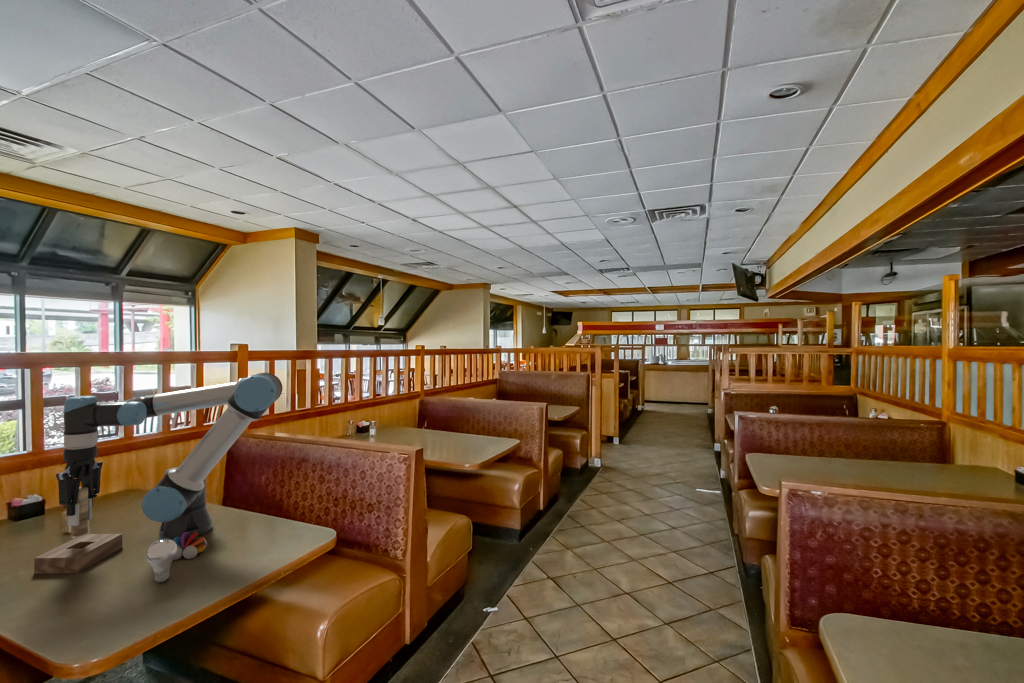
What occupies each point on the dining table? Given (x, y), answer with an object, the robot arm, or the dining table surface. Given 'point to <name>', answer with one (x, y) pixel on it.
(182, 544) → the rainbow fan toy
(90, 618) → the dining table surface
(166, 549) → the light bulb
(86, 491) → the dowel
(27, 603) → the dining table surface
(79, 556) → the board
